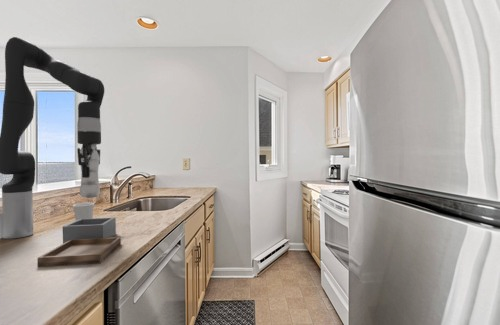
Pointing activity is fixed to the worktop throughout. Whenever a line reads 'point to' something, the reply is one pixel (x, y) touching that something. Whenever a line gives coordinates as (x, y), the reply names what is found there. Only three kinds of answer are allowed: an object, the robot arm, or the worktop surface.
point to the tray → (80, 252)
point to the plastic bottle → (91, 178)
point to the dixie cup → (83, 210)
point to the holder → (89, 229)
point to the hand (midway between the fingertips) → (89, 176)
